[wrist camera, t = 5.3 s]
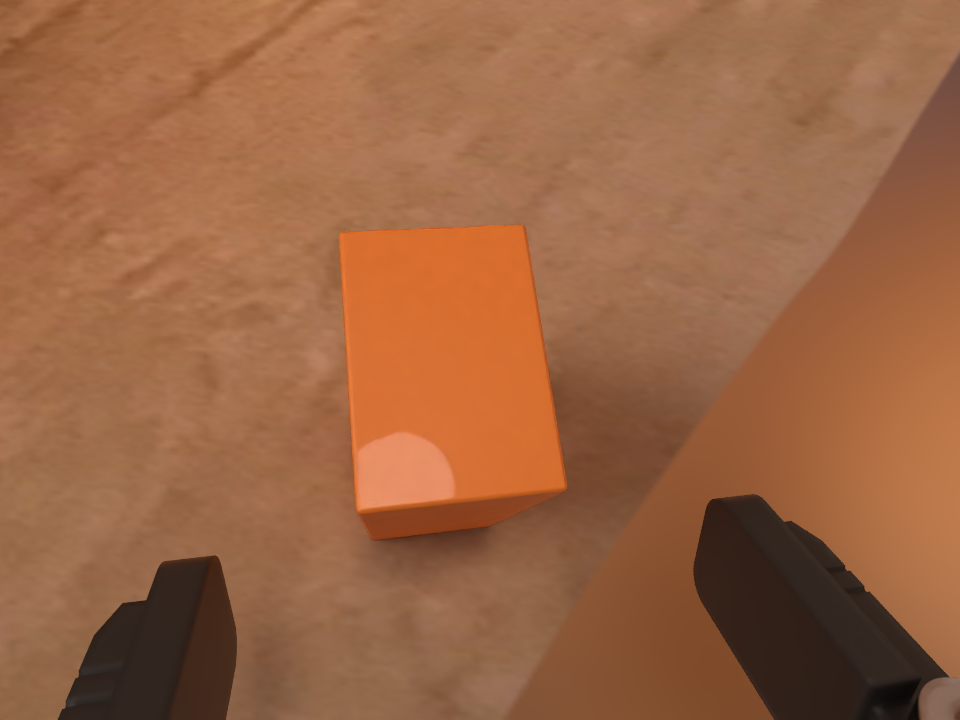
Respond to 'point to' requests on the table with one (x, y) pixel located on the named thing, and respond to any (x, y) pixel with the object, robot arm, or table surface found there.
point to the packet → (446, 379)
